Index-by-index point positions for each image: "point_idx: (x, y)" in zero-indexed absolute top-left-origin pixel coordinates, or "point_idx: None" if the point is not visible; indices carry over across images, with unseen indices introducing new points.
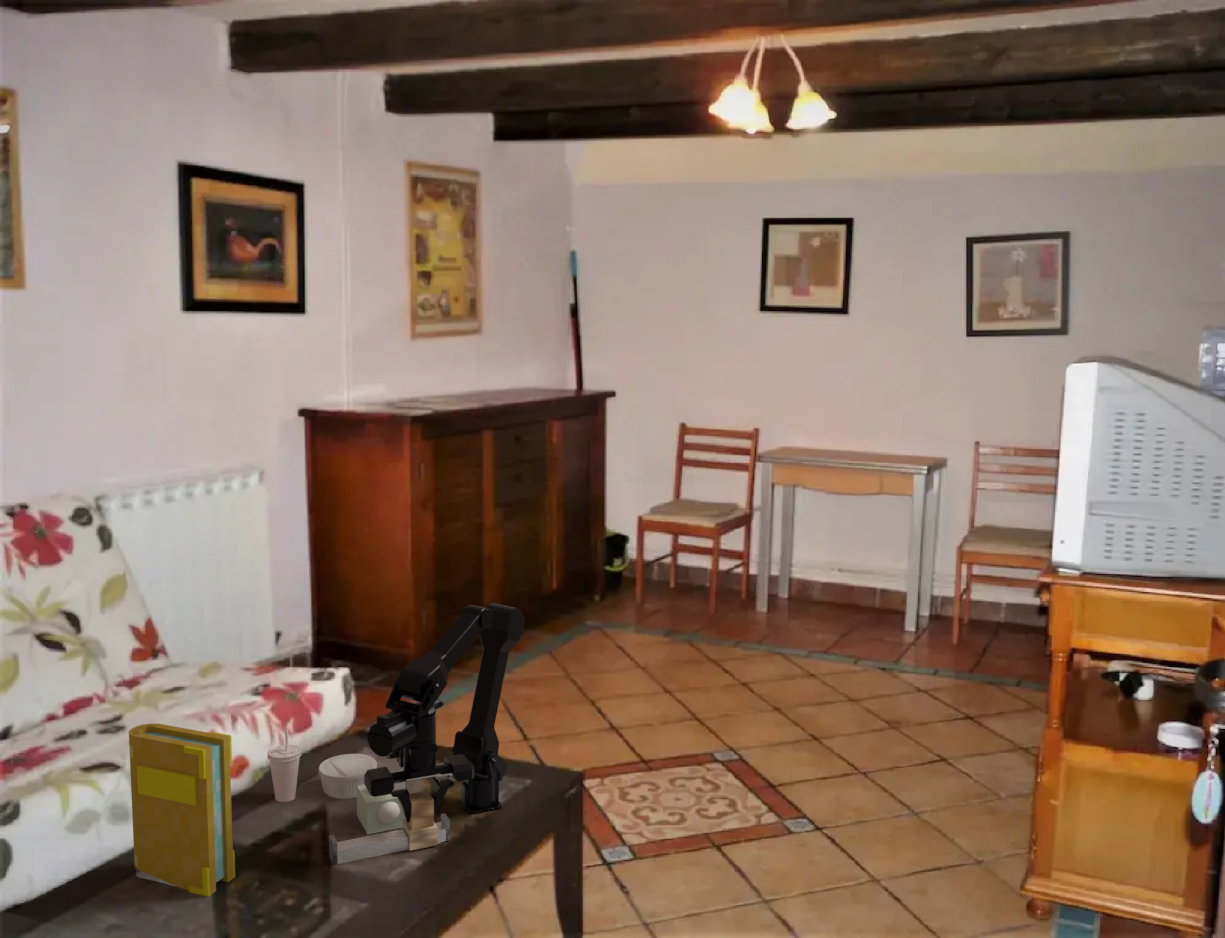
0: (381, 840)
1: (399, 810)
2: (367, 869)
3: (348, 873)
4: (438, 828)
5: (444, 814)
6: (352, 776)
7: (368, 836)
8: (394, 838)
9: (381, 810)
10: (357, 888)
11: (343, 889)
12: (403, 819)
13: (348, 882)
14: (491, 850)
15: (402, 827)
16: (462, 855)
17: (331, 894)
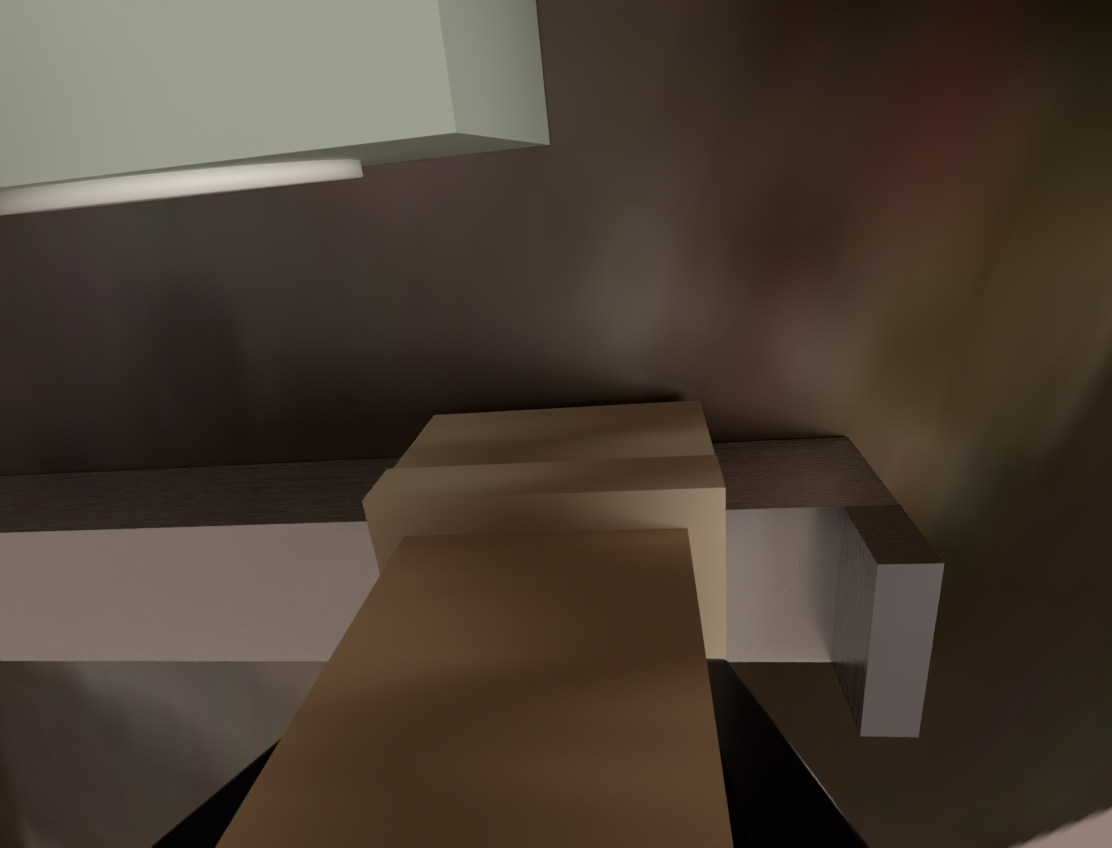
0: (197, 637)
1: (346, 176)
2: (185, 703)
3: (75, 702)
4: (761, 626)
5: (921, 588)
6: None
7: (70, 536)
8: (310, 647)
9: (52, 210)
10: (152, 838)
11: (80, 821)
12: (377, 503)
13: (94, 778)
14: (1084, 793)
15: (398, 466)
16: (840, 774)
17: (29, 835)
